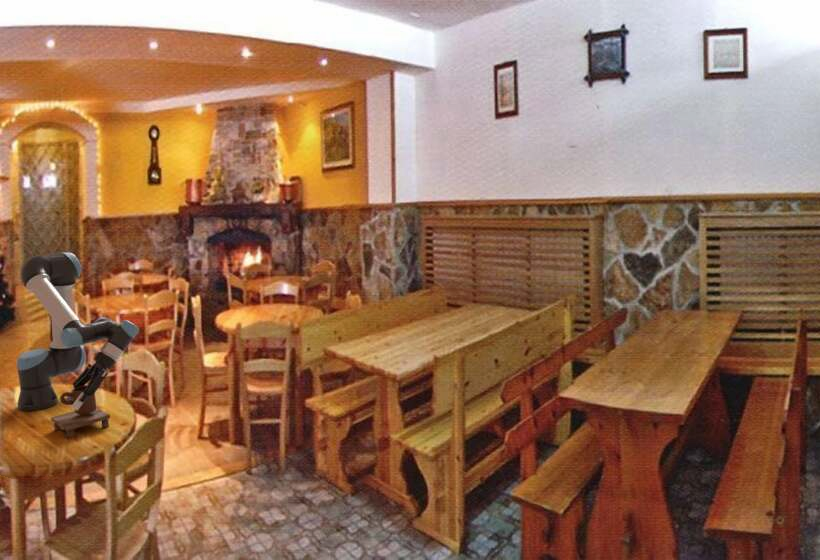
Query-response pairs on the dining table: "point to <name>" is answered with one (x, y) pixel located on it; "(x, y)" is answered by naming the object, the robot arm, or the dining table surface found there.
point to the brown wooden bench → (79, 420)
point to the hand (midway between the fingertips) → (69, 406)
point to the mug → (88, 404)
